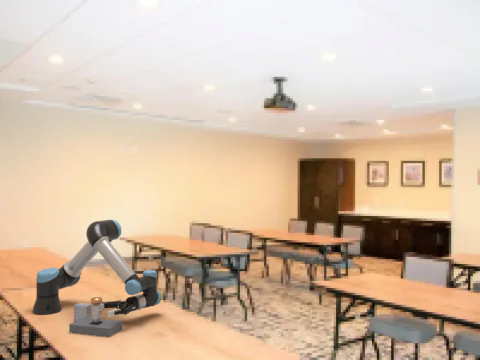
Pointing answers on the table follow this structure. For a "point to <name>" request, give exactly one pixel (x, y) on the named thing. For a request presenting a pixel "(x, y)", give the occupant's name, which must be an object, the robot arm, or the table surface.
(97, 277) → the table surface
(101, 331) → the socket block
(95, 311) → the plug
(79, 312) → the medicine box
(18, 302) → the table surface
